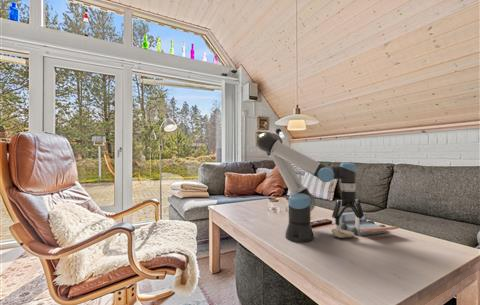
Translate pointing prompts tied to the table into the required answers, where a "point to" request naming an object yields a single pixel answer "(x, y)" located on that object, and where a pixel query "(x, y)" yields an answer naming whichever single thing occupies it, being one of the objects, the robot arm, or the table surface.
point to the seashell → (342, 233)
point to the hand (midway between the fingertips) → (348, 230)
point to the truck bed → (349, 224)
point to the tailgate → (379, 229)
